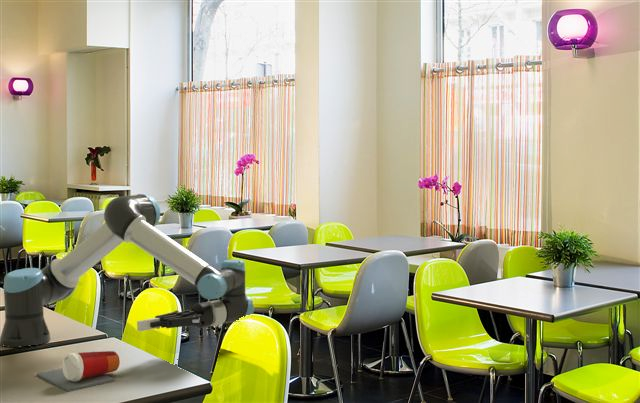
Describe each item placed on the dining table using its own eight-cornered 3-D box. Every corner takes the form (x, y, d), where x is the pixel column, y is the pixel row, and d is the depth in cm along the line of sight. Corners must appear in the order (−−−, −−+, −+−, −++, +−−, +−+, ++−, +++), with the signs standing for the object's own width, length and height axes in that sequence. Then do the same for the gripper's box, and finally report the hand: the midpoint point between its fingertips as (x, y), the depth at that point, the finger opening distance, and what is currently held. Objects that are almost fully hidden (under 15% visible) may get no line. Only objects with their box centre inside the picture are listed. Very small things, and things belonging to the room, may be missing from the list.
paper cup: (100, 358, 216) (57, 364, 205) (114, 341, 213) (71, 346, 202) (112, 381, 213) (68, 388, 202) (126, 364, 210) (83, 370, 199)
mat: (37, 375, 212) (36, 373, 212) (82, 366, 221) (81, 364, 221) (67, 391, 197) (67, 389, 197) (114, 381, 206) (114, 378, 206)
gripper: (220, 329, 232) (150, 343, 216) (196, 323, 242) (127, 335, 226) (219, 304, 232) (149, 316, 216) (196, 299, 241) (127, 309, 226)
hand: (138, 326), depth 221 cm, fingers closed
